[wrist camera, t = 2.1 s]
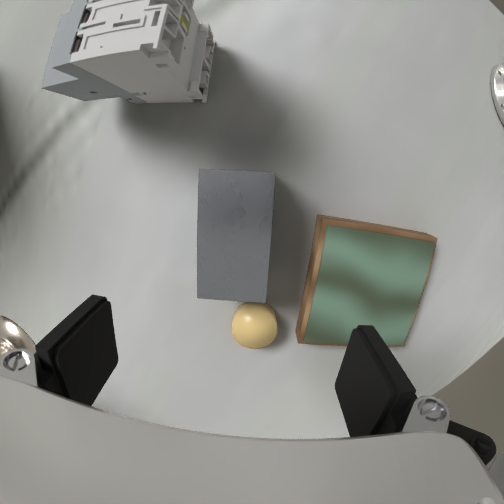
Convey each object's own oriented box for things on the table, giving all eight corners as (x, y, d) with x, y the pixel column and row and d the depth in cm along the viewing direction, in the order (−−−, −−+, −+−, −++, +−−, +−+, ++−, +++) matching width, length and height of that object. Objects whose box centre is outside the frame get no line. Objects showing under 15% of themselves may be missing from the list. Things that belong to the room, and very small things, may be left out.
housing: (212, 169, 29) (199, 169, 22) (271, 172, 29) (275, 172, 22) (209, 271, 32) (197, 298, 25) (264, 274, 32) (265, 302, 25)
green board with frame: (317, 214, 30) (323, 219, 27) (426, 233, 30) (439, 239, 27) (295, 331, 33) (298, 345, 31) (396, 335, 34) (404, 348, 31)
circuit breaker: (100, 52, 24) (25, 7, 10) (215, 41, 24) (185, -40, 10) (90, 108, 26) (0, 86, 12) (206, 102, 27) (161, 47, 12)
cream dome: (235, 297, 33) (233, 307, 30) (279, 302, 33) (280, 313, 30) (231, 334, 34) (229, 346, 32) (272, 339, 34) (273, 350, 32)
